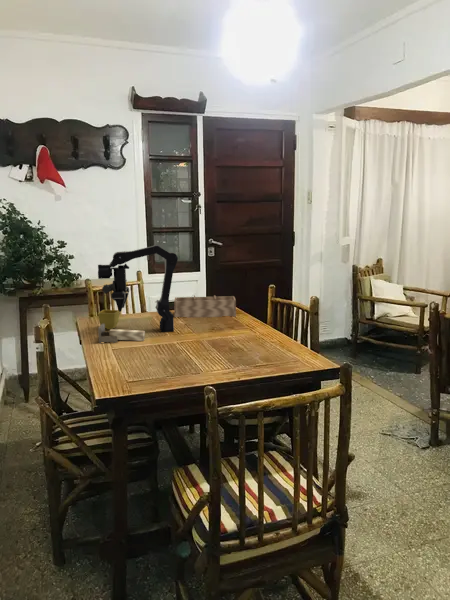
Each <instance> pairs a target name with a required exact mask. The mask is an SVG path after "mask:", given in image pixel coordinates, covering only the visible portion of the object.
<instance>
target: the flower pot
mask: <svg viewBox="0 0 450 600" xmlns="http://www.w3.org/2000/svg"><path fill="white" fill-rule="evenodd" d="M97 315H98V322H99V324H100V325H99V326H101V324H105V328H107V329H106V330H111V329H113V328H114V329H116V328H117V326H118V323H119V319H120V312H119V310H118V309H102V310H101V311H99V312H98V313H97Z"/></svg>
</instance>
